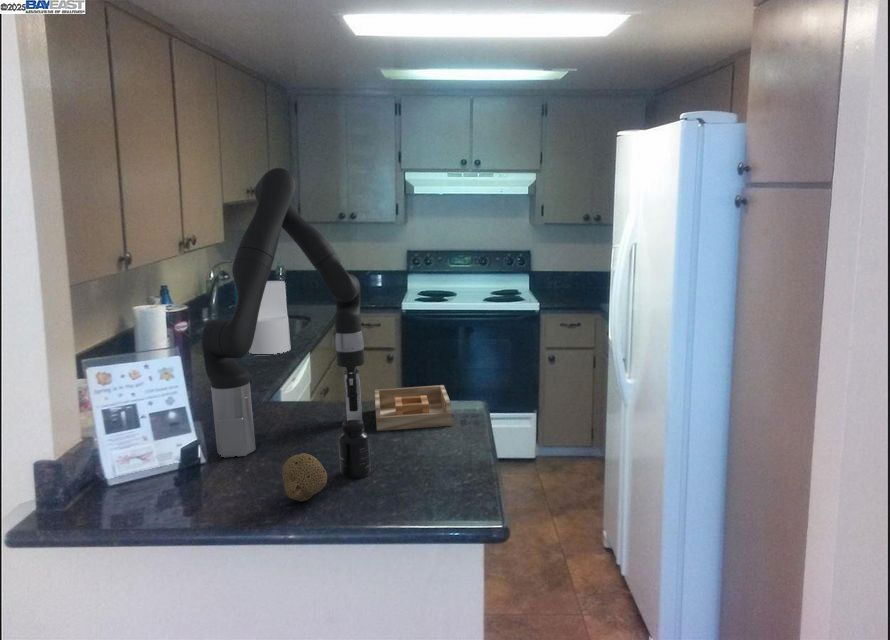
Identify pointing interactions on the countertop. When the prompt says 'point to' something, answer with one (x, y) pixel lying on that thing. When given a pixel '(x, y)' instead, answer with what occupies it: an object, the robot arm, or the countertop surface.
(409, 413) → the walled box
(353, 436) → the supplement bottle
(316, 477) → the natural sponge
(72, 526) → the countertop surface
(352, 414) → the connector peg
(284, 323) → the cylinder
